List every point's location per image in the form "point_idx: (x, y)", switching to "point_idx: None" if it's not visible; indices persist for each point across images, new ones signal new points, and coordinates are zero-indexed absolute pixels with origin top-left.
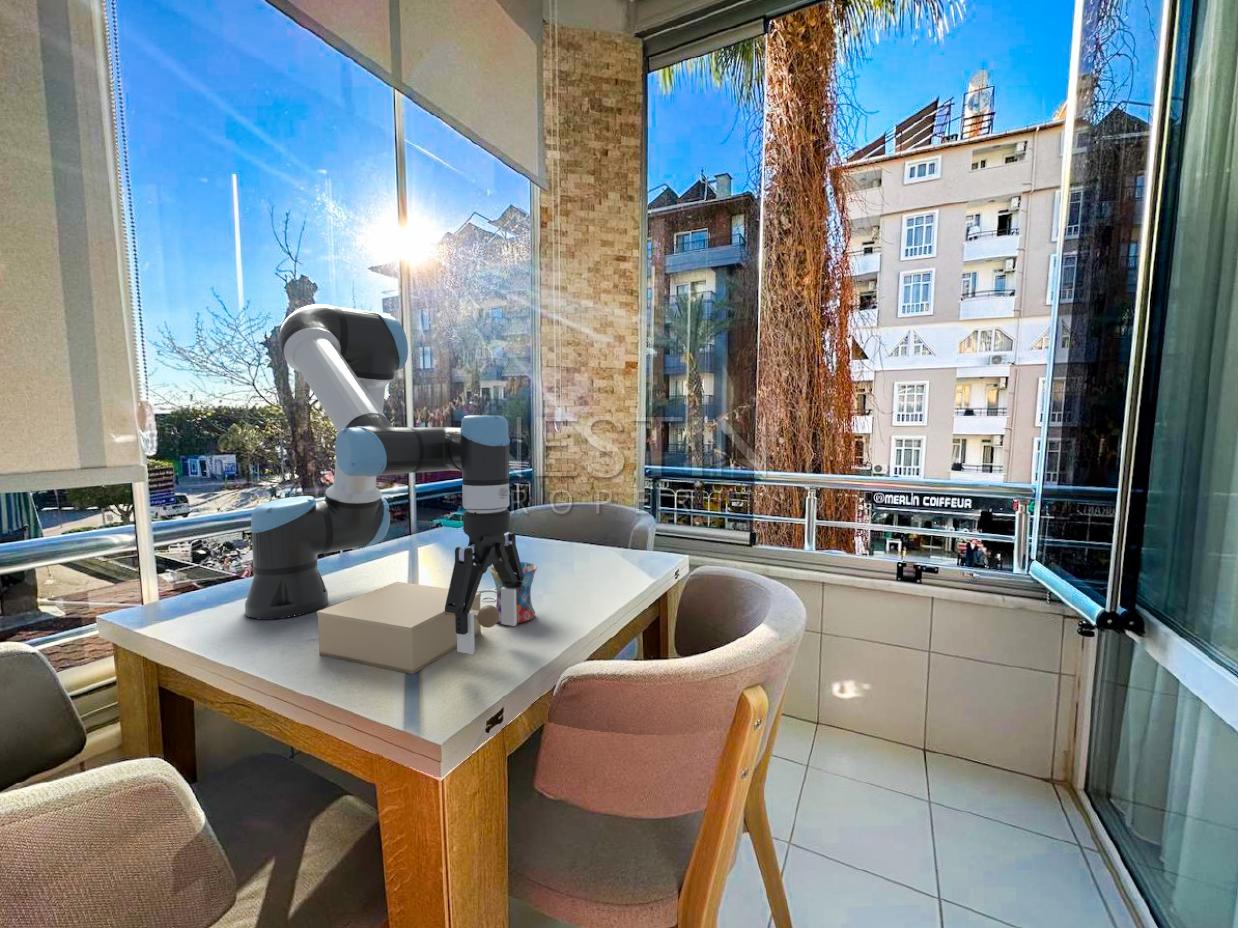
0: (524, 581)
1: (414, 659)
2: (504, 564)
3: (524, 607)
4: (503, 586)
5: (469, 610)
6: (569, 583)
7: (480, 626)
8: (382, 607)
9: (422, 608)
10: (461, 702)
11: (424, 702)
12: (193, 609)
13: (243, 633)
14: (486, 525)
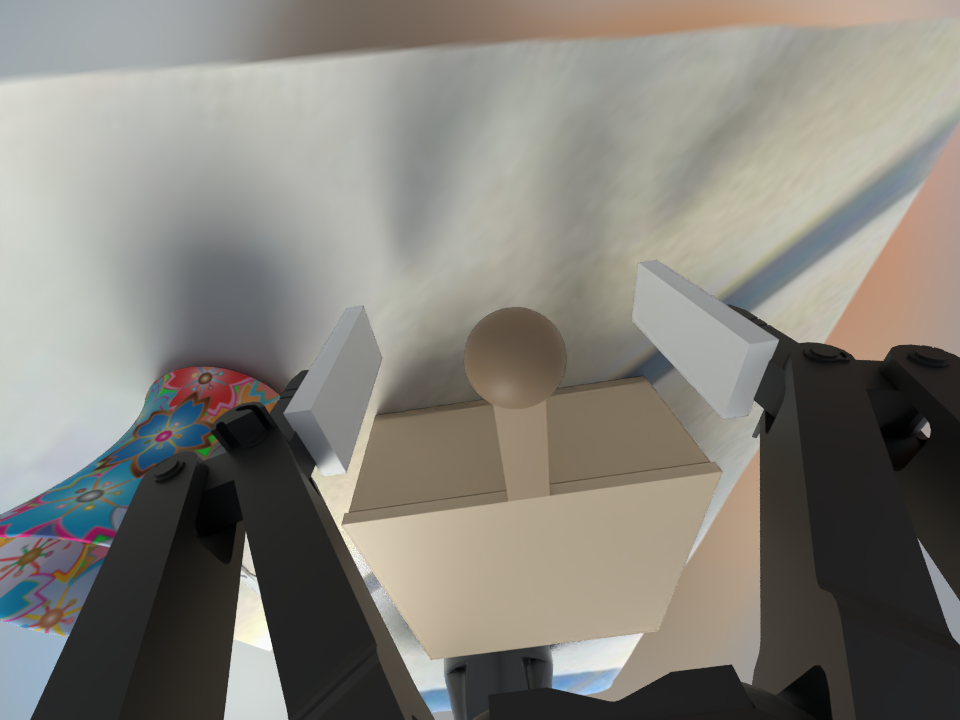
0: (109, 492)
1: (654, 399)
2: (367, 638)
3: (193, 405)
4: None
5: (796, 353)
6: None
7: (372, 428)
8: (594, 591)
9: (561, 541)
10: (774, 143)
11: (778, 245)
12: (554, 679)
13: None
14: None
